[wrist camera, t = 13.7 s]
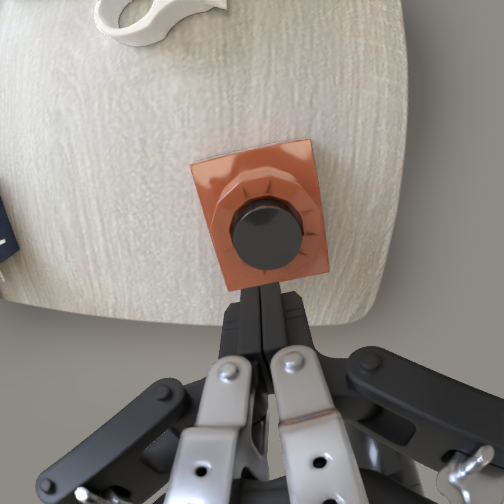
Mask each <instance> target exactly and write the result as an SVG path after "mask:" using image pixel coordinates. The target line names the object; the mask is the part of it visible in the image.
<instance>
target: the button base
mask: <svg viewBox="0 0 504 504" xmlns="http://www.w3.org/2000/svg"><path fill="white" fill-rule="evenodd" d="M190 168H191V172H192V175H193V179H194V182H195V186H196V189H197V193H198V196H199V199H200V203H201V206H202V209H203V213H204V216H205V219H206V223H207V226H208V229H209V233H210V236H211V239H212V242H213V246H214V249H215V252H216V255H217V258H218V261H219V264H220V268H221V271H222V274H223V277H224V280H225V283H226V286H227V289H228V291H234V290H240V289H243V288H248V287H253V286H258V285H259V286H261V285H263V284H268V283H273V282H278V281H279V282H282V281H287V280H292V279H297V278H302V277H307V276H312V275H317V274H321V273H326V272H329V271H330V270H329V260H328V250H327V241H326V233H325V225H324V217H323V210H322V203H321V196H320V190H319V183H318V177H317V171H316V166H315V160H314V154H313V149H312V144H311V139H309V138H305V137H302V138H296V139H290V140H285V141H279V142H274V143H269V144H264V145H259V146H255V147H250V148H246V149H241V150H237V151H233V152H229V153H225V154H220V155H217V156H213V157H209V158H205V159H201V160H198V161H196V162H194V163H193V164H191V165H190ZM262 199H272V200H277V201H279V202H282V203H283V204H285V205H287V206H288V207H289V208H290V209H291V210H292V211H293V213H294V215H295V216H296V219H297V221H298V223H299V226H300V228H301V232H302V244H301V248H300V250H299V252H298V254H297V255H296V257H295V258H294V259H293V260H292V261H291V262H290V263H288V264H287V265H285V266H283V267H281V268H278V269H275V270H260V269H256V268H253V267H251V266H249V265H248V264H246V263H245V262H244V261H243V260H242V259H241V258H240V257H239V256H238V254H237V252H236V250H235V247H234V241H233V237H234V230H235V224H236V220H237V218H238V216H239V214H240V213H241V211H242V210H243V209H244V208H245V207H246V206H247V205H249V204H251V203H252V202H255V201H258V200H262Z"/></svg>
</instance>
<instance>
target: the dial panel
mask: <svg viewBox="0 0 504 504" xmlns="http://www.w3.org/2000/svg"><path fill="white" fill-rule="evenodd" d="M19 249H20V248H19V246H18V244H17V241H16V239H15V236H14V234H13V231H12V229H11V226H10V224H9V221H8V218H7V215H6V212H5V209H4V206H3V203H2V200H1V197H0V263H2V262H4V261H5V260H7V259H8V258H9V257H10V256H12V255H13V254H14V253H15V252H17V251H18V250H19ZM0 275H1V277H2V279H3V281H4V282H5V281H6V280H5V278H4V276H3V274H2V272H1V270H0Z"/></svg>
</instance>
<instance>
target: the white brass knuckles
mask: <svg viewBox="0 0 504 504" xmlns="http://www.w3.org/2000/svg"><path fill="white" fill-rule="evenodd" d="M131 1H133V0H98V2H97V5H96V8H95V12H94V20H95V24H96V26H97V28H98V29H99V30H100V31H101V32H102V33H103V34H105V35H107V36H109V37H111V38H113V39H115V40H117V41H119V42H121V43H123V44H125V45H129V46H146V45H150V44H153V43H156V42H158V41H160V40H162V39H164V38H165V37H166V35H167V33H168V32H169V30H170V29H171V28H172V27H173V26H174V25H175V24H176V23H177V22H179V21H180V20H182V19H183V18H185V17H187V16H189V15H192V14H195V13H199V12H206V11H208V10H209V9H211V8H213V7H219V8H222V9H225V10H228V7H227V1H226V0H154V2H153V5H152V7H151V9H150V10H149V12H148V13H147V14H146V15H145V16H144V17H143V18H142V19H141V20H139V21H138V22H136V23H135V24H133V25H131V26H128V27H125V28H120V27H119V24H118V19H119V16H120V13H121V12H122V10H123V9H124V7H125V6H126V5H127V4H129V3H130V2H131Z"/></svg>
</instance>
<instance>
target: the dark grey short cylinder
mask: <svg viewBox="0 0 504 504" xmlns="http://www.w3.org/2000/svg"><path fill="white" fill-rule="evenodd" d="M233 241H234V247H235V250H236V252H237V254H238V256H239V257H240V258H241V259H242V260H243V261H244V262H245V263H246V264H248V265H249V266H251V267H253V268H256V269H260V270H275V269H278V268H281V267H283V266H285V265H287V264H288V263H290V262H291V261H292V260H293V259H294V258H295V257H296V255H297V254H298V252H299V250H300V248H301V244H302V232H301V228H300V226H299V223H298V221H297V219H296V216H295V215H294V213H293V211H292V210H291V209H290V208H289V207H288V206H287V205H285V204H283V203H282V202H279V201H277V200H272V199H262V200H258V201H255V202H252V203H251V204H249V205H247V206H246V207H245V208H244V209H243V210H242V211H241V213H240V214H239V216H238V218H237V220H236V224H235V230H234V237H233Z"/></svg>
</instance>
